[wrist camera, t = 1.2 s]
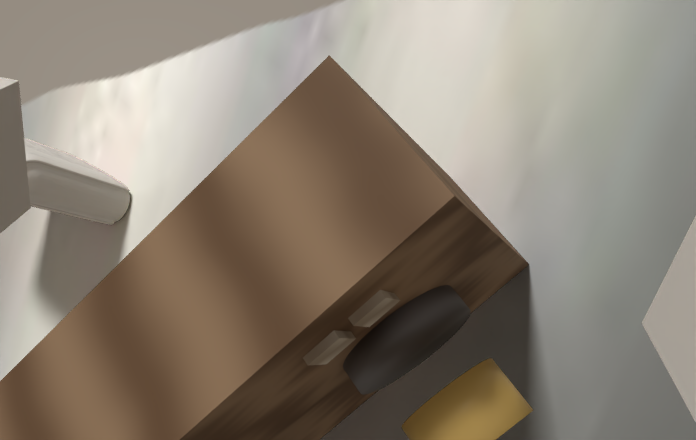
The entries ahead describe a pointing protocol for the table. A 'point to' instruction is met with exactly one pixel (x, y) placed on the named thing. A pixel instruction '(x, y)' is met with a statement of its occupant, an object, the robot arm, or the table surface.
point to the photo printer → (73, 185)
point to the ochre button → (470, 408)
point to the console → (271, 288)
